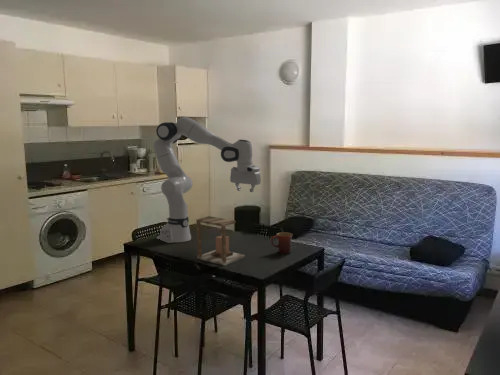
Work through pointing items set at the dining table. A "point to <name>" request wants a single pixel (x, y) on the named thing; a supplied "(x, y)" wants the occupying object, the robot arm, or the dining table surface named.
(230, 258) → the dock
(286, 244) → the mug
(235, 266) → the dining table surface
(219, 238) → the block
